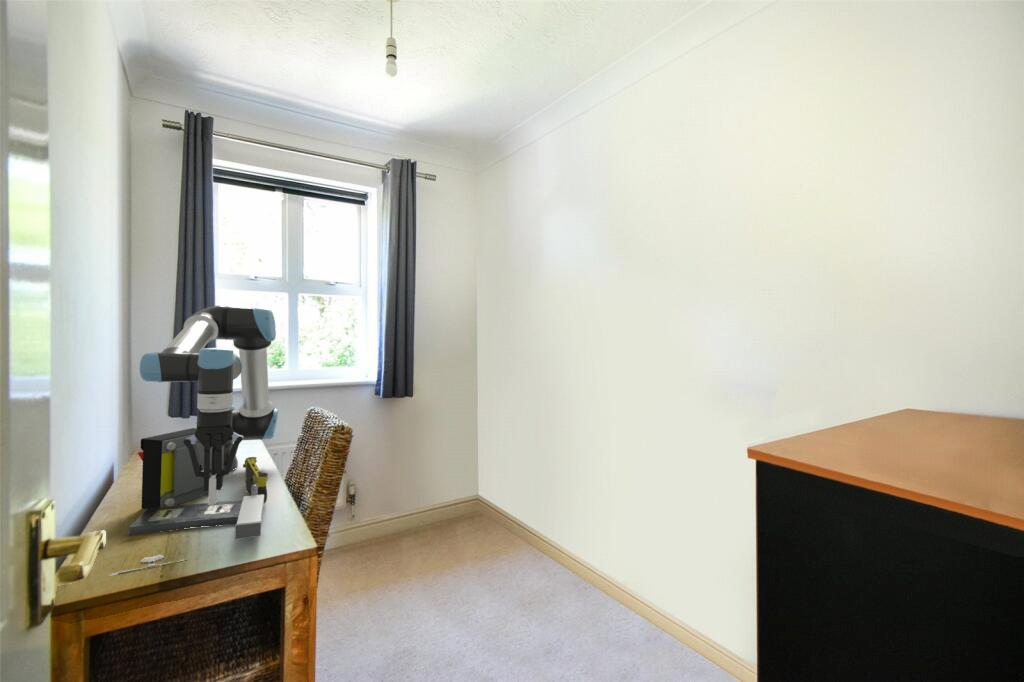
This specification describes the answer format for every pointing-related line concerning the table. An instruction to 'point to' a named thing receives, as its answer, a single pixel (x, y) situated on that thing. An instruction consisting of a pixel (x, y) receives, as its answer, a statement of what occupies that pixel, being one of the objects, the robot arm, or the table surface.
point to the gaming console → (255, 477)
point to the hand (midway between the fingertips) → (213, 502)
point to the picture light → (144, 567)
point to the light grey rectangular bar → (250, 517)
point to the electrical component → (169, 470)
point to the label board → (188, 516)
